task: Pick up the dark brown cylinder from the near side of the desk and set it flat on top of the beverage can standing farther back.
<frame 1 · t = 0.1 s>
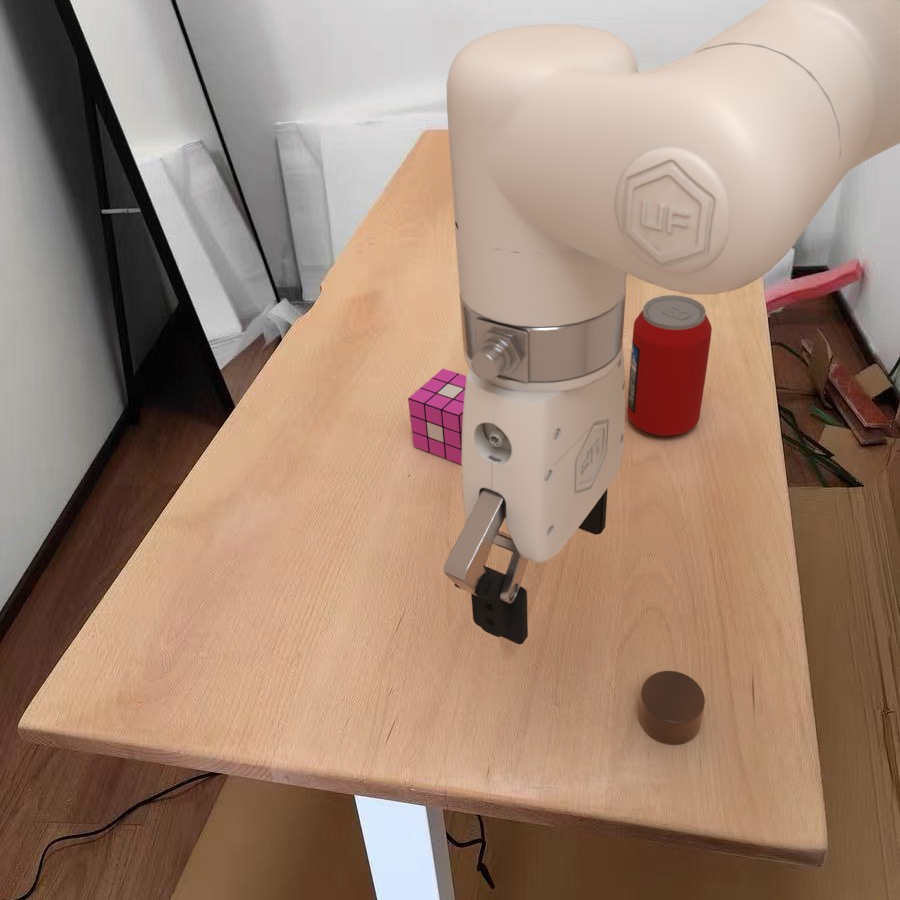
hand: (542, 574, 51), 13 cm above the table, tool pointing down, fingers open, 9 cm apart
dark brown cylinder: (669, 718, 57), on the table
turtle holder: (587, 247, 113), on the table
beverage can: (662, 422, 83), on the table
dumbbell: (533, 177, 133), on the table
puzzle toy: (454, 441, 83), on the table
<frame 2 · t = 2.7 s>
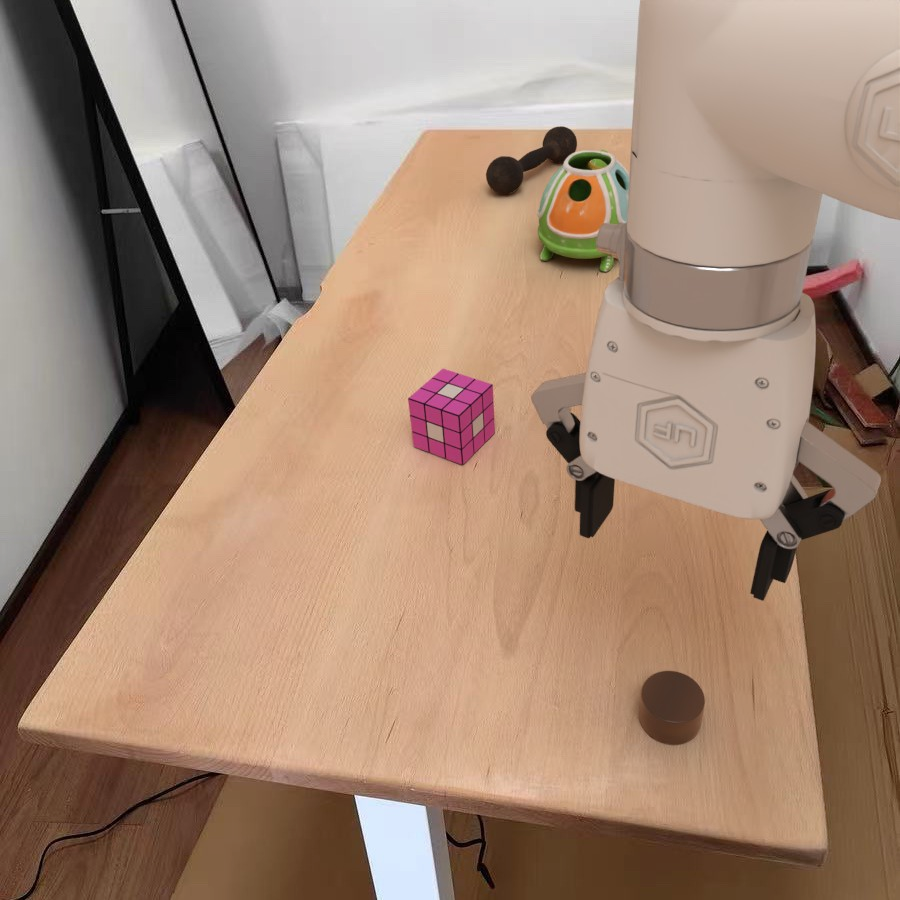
hand: (676, 550, 48), 16 cm above the table, tool pointing down, fingers open, 9 cm apart
nothing on the table moved.
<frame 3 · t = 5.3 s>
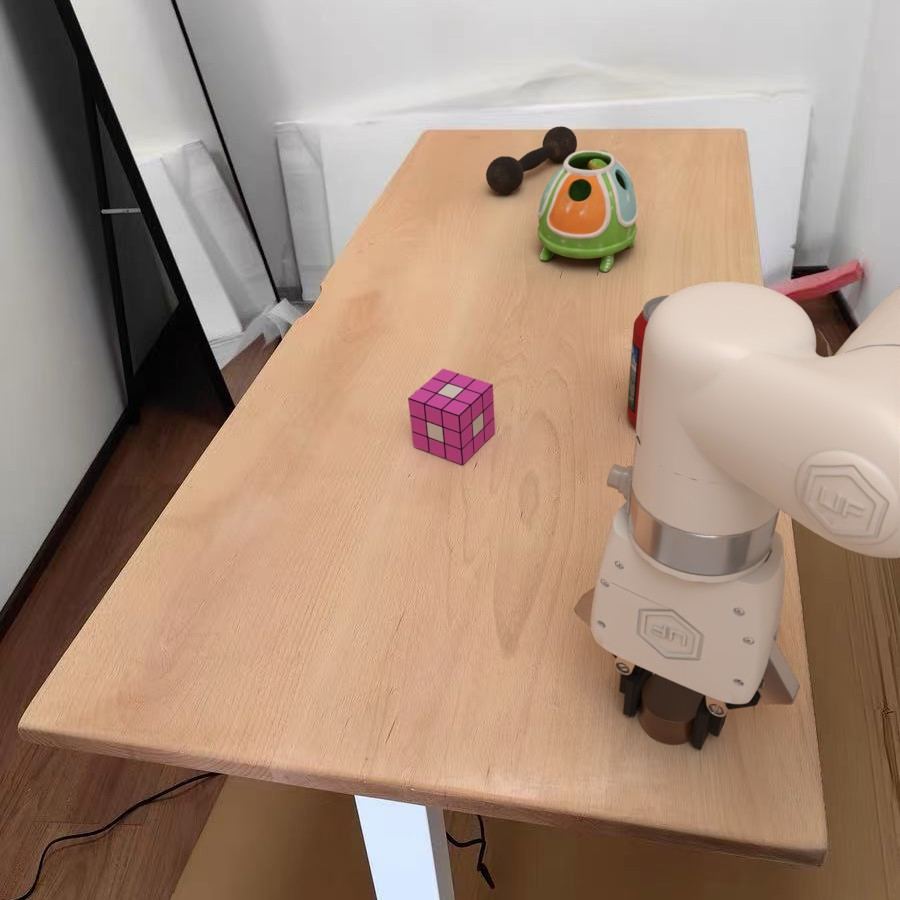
hand: (670, 713, 57), 1 cm above the table, tool pointing down, fingers closed on dark brown cylinder, 4 cm apart
dark brown cylinder: (669, 718, 57), on the table, touching gripper
everything else where it was.
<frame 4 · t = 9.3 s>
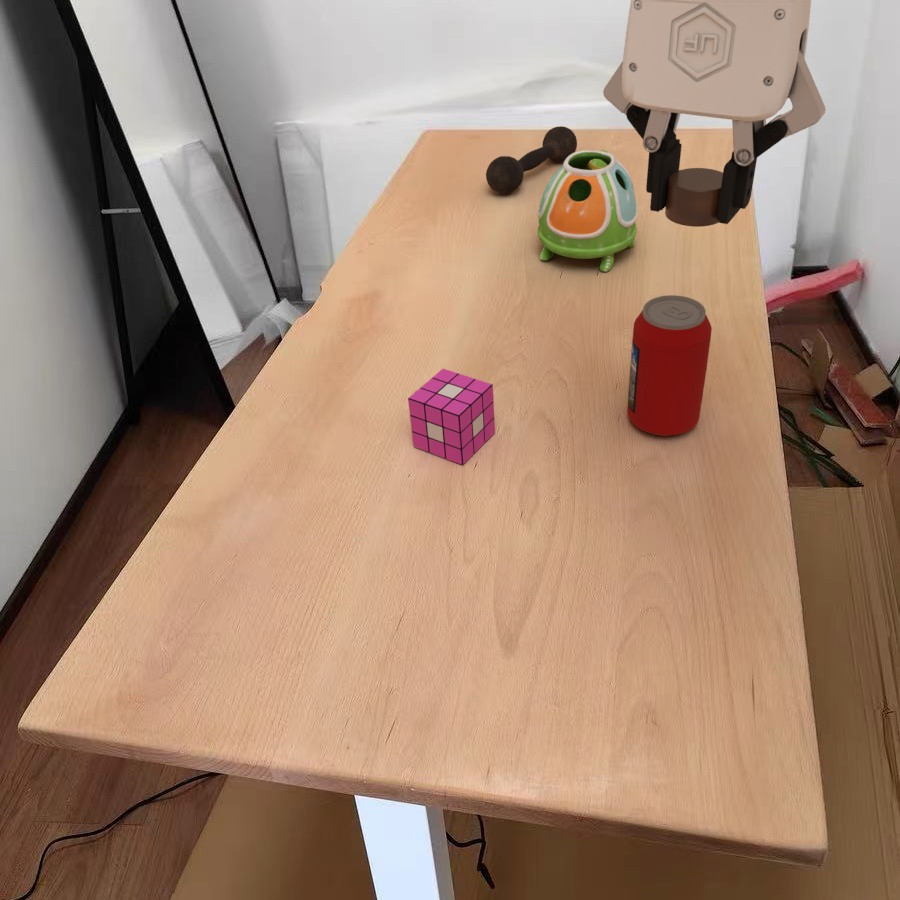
hand: (695, 207, 59), 26 cm above the table, tool pointing down, fingers closed on dark brown cylinder, 4 cm apart
dark brown cylinder: (694, 214, 59), point 25 cm above the table, touching gripper
everything else where it was.
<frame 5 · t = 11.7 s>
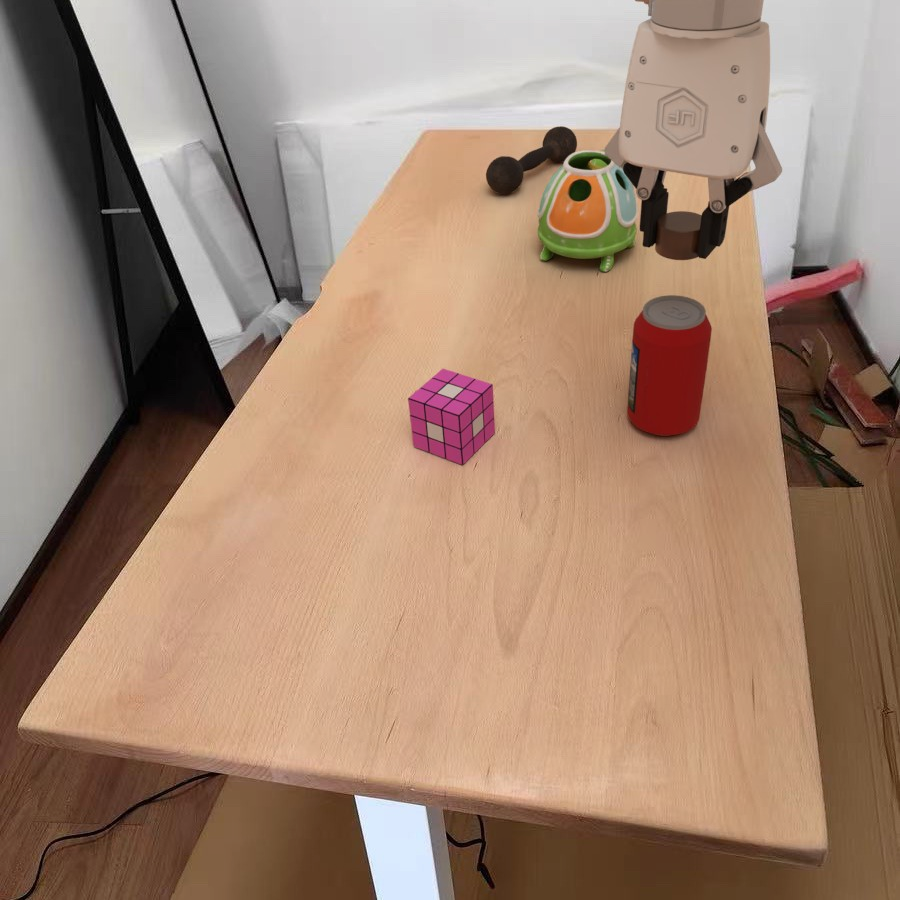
hand: (680, 244, 71), 18 cm above the table, tool pointing down, fingers closed on dark brown cylinder, 4 cm apart
dark brown cylinder: (679, 249, 72), point 18 cm above the table, touching gripper
everything else where it was.
when the fingers open (13 cm above the table, at t = 13.5 s): dark brown cylinder stays where it is, resting on beverage can.
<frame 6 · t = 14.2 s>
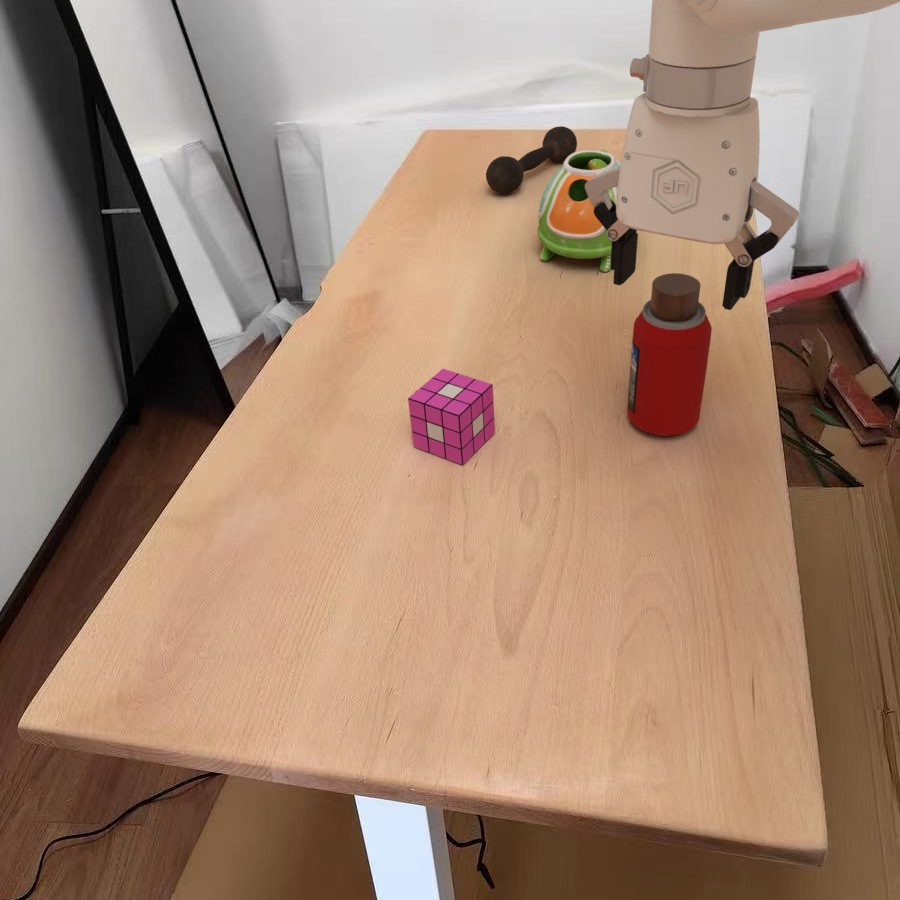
hand: (676, 290, 74), 14 cm above the table, tool pointing down, fingers open, 9 cm apart
dark brown cylinder: (673, 309, 75), point 12 cm above the table, touching beverage can
beverage can: (662, 422, 83), on the table, touching dark brown cylinder
everything else where it was.
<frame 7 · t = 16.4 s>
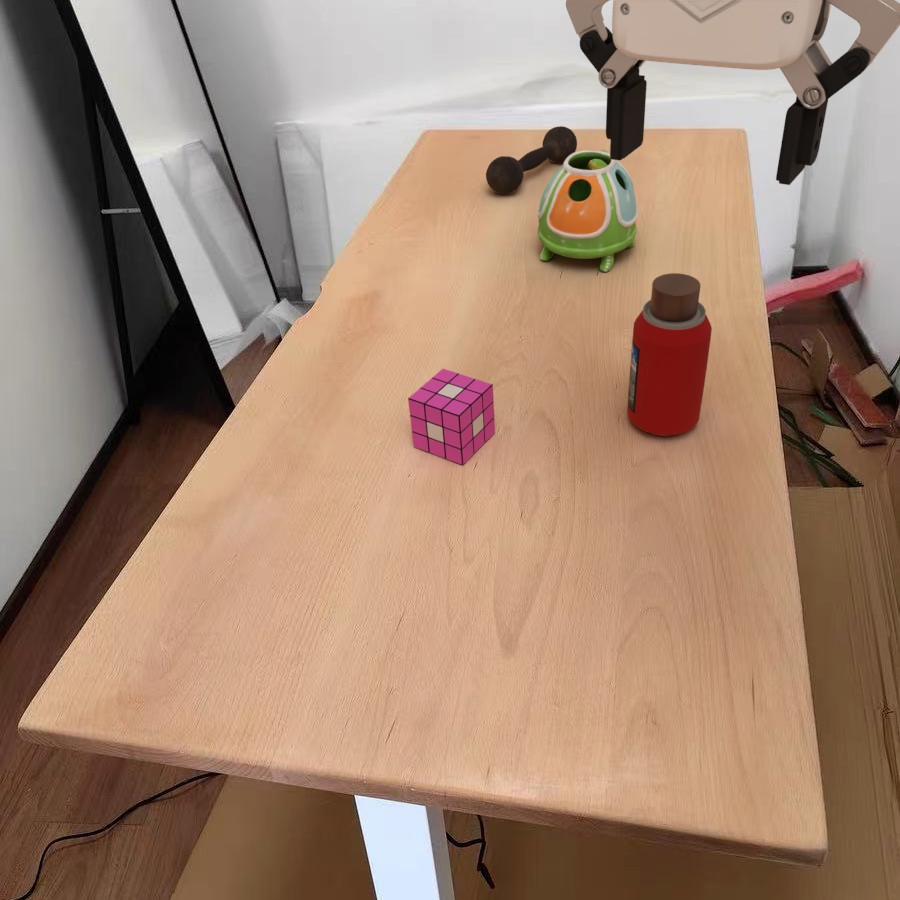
hand: (704, 163, 49), 32 cm above the table, tool pointing down, fingers open, 9 cm apart
nothing on the table moved.
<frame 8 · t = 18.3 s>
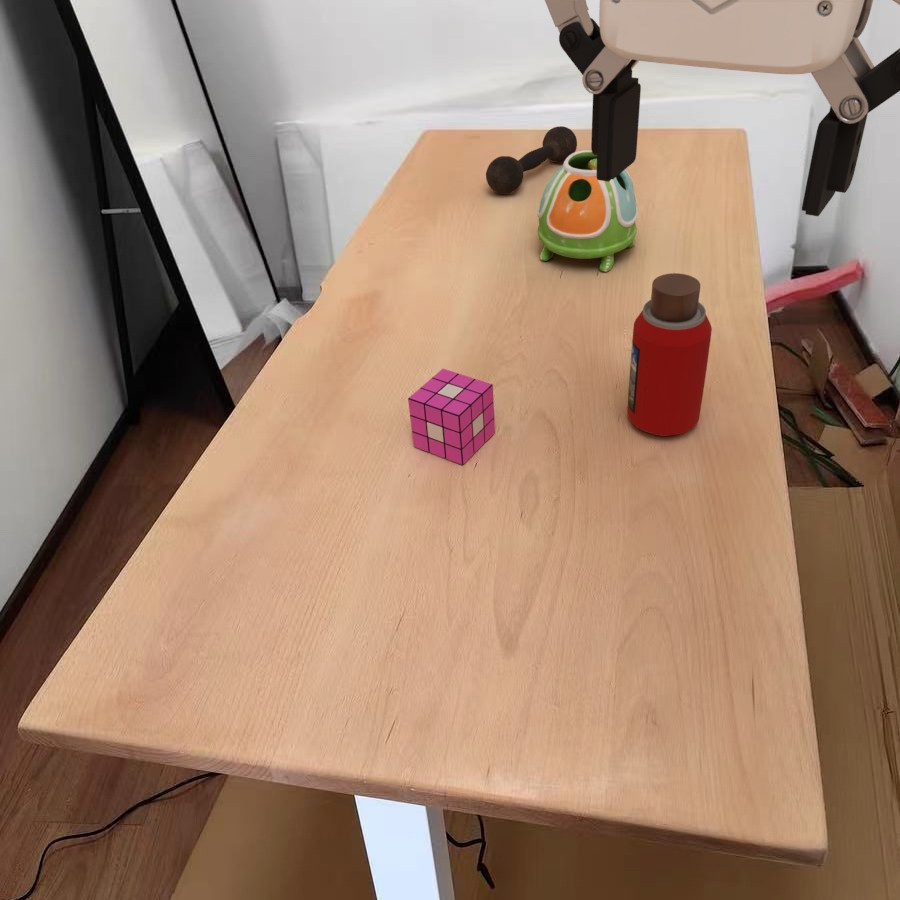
hand: (712, 186, 40), 34 cm above the table, tool pointing down, fingers open, 9 cm apart
nothing on the table moved.
at the end: dark brown cylinder 0.1 cm off-centre on the beverage can, point 12.2 cm above the beverage can's base; the gripper is holding nothing; beverage can tilted 0° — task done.
